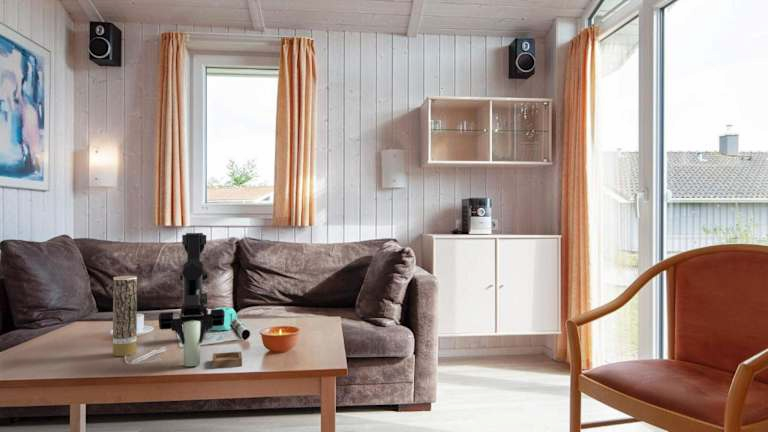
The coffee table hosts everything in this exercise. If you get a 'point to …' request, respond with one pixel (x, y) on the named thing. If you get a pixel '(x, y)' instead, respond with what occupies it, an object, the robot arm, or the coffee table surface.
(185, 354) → the candle
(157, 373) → the coffee table surface
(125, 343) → the wooden log cylinder
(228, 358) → the holder
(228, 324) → the decorative dice
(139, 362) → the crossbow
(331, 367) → the coffee table surface
